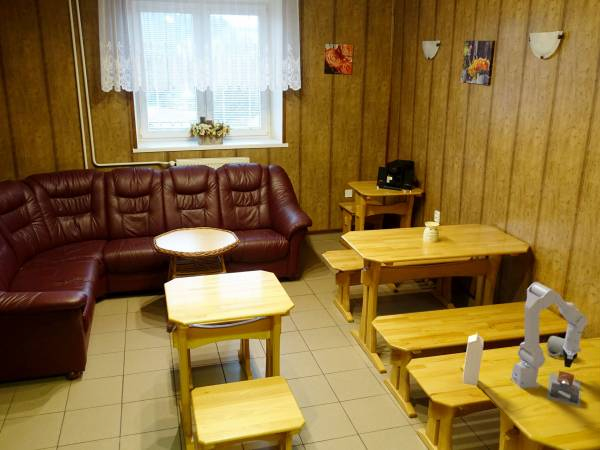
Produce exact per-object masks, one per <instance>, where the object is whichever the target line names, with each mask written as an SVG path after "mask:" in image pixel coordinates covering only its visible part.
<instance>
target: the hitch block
mask: <svg viewBox="0 0 600 450" xmlns="http://www.w3.org/2000/svg"><path fill="white" fill-rule="evenodd" d="M559 391H563V392H566V393H570V402H573V403H578V398H579V390H578V389H574V388H572V386H571V385H568V384H564V383H560V384H555V383H552V386H551V392H550V396H552V397H555V398H557V397H558V392H559Z"/></svg>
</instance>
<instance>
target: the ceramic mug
mask: <svg viewBox="0 0 600 450" xmlns="http://www.w3.org/2000/svg"><path fill="white" fill-rule="evenodd" d="M564 342H565V338H562V337H560V336H555V335H551V336H549V338H548V340H547V344H546V348H547V349H546V353H547V354H548V356H550V357H552V358H557V357H560V356H563V357H564V355H563V345H564ZM549 351H550V352H552V353H553V352H554V354H552V353H550V352H549Z"/></svg>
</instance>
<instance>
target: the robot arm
mask: <svg viewBox="0 0 600 450" xmlns="http://www.w3.org/2000/svg"><path fill="white" fill-rule="evenodd" d="M552 304H553V305H554V304H555V305H556V307H558V312H559V314H561V315H562V316H563V317H564V318H565V321H566V322H568V324H567V327H566V333H565V336H564V339H565V342H564V345H563V355H564V356H563V355H562V356H563V360H564V363H563V364H564V368H569V369H570V368H571V366H572V364H573V362H574V360H576V358H578V353H582V348H580V343H581V338H582V334H583V331H584V330H585V328H586V326H587V325H588V322H589V321H588V319H587V316H586V315H584V314H583V313H582V312H581V310H580V309H578V308H576V305H575V304H574V303H573V302H568V301H567V302H566V301H565V300H564V299H563V298H562V297H561V295H560V294H559V293H558V292H557V291H556V290H555V289H551V288H549V287H548V286H546V285H543V284H541V283H540V282H539V281H535V282H533V283H531V284H530V285H529V287H528V288H527V289H526V301H525V303H524V341H523V342H521V343H520V344H519V348H518V351H517V355H518V357H519V362H517V363H515V364H514V365H513V366H512V372H511V377H509V378H510V380H511V381H512V382H514V383H515V384H516V385H517V386H518V387H519V388H520V389H526V388H538V387H541V385H540V384H539V383H538V382H537V381H538V380H537V379H538V374H539V369H540V368H542V366H544V364H545V362H546V357H545V356H544V355H545V354H544V350H543V349H542V347H541V345H540V312H541V311H545V310H546V309H547V308H549V307H550V306H551V305H552Z"/></svg>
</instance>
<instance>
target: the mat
mask: <svg viewBox="0 0 600 450" xmlns="http://www.w3.org/2000/svg"><path fill="white" fill-rule="evenodd" d="M558 375H559V374H554V373H551V372H550V374H549V380H548V387H547V394H546V399H548V400H551V401H555V402H558V403H562V404H565V405H568V406H572V407H577V408H579V409H580V408H581V382H582V381H581V380H578V379H574V380H573V384H572V385H571V386H572V388H574V389H578V390H579V398H578V403H573V402H570V393H566V392H563V391H559V392H558V397H557V398H555V397H552V396H550V392H551V386H552V383H555V384H560V383H561V382H558V381H557V380H558Z"/></svg>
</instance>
